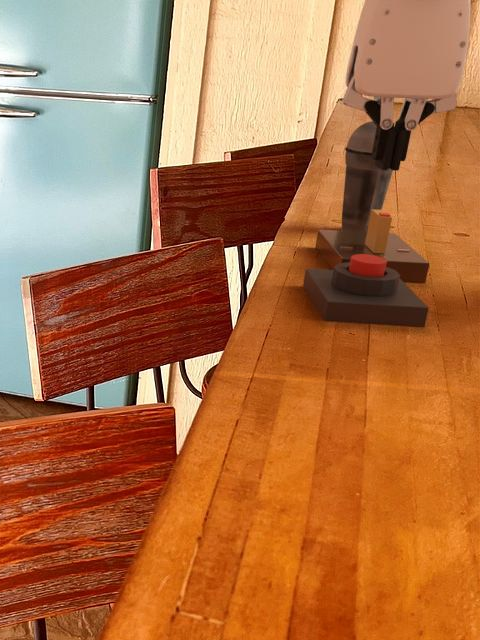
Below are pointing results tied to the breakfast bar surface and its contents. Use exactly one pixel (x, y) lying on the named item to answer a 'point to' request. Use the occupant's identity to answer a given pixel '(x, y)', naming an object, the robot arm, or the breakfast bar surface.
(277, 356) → the breakfast bar surface
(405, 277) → the plate
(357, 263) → the bell button
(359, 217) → the beverage cup
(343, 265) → the dark grey button base
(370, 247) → the lock turn
